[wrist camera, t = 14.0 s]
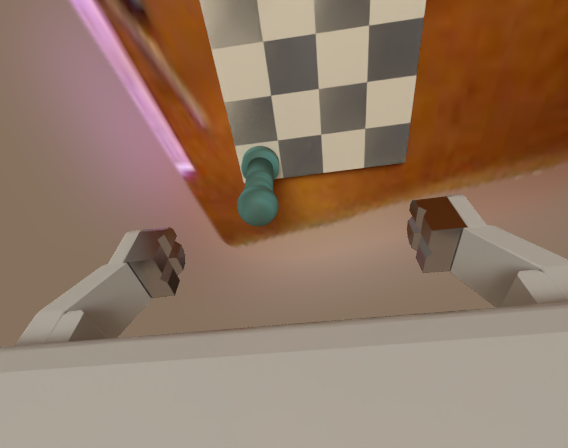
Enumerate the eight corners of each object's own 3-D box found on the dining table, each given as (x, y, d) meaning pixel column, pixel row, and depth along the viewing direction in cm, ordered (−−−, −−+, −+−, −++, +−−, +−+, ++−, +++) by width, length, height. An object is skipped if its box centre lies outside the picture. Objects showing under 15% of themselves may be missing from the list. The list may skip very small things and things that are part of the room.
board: (427, -54, 27) (433, -55, 26) (402, 157, 39) (405, 162, 38) (198, -17, 28) (195, -16, 27) (244, 178, 40) (243, 182, 39)
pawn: (276, 143, 36) (277, 195, 28) (281, 176, 39) (283, 233, 30) (238, 148, 36) (228, 201, 28) (246, 181, 39) (238, 238, 31)
